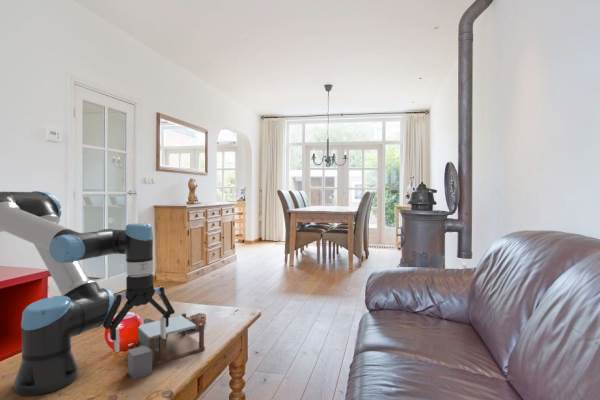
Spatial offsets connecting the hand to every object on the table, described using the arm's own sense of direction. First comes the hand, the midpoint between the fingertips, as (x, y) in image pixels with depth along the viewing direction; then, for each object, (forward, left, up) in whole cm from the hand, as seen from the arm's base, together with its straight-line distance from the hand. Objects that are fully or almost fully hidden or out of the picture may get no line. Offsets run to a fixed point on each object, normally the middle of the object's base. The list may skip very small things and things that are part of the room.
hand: (140, 343), depth 110 cm
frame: (+13, +10, -9) cm, 19 cm away
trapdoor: (+12, +10, -4) cm, 16 cm away
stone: (+14, +26, -9) cm, 31 cm away
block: (0, 0, -9) cm, 9 cm away
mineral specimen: (+28, +24, -9) cm, 38 cm away
